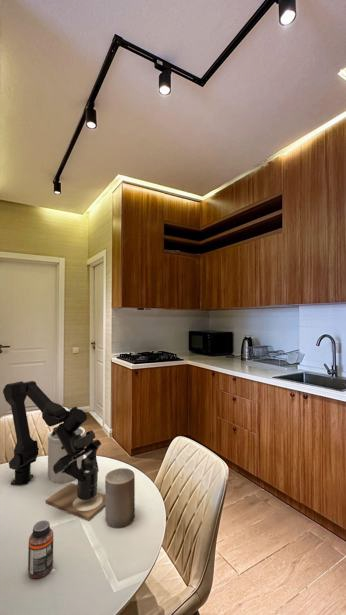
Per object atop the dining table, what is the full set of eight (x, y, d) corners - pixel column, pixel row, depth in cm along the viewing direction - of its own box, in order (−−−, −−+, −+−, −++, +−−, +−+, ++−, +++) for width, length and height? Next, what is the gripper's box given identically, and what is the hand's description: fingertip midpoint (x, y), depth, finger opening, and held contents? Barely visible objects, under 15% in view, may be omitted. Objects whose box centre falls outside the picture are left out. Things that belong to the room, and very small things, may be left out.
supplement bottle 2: (95, 500, 99) (96, 464, 100) (75, 501, 98) (76, 465, 99) (98, 488, 106) (99, 455, 106) (79, 489, 105) (80, 456, 106)
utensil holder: (89, 477, 120) (89, 434, 121) (50, 488, 112) (52, 442, 113) (78, 462, 132) (79, 423, 133) (43, 471, 124) (44, 430, 125)
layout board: (45, 503, 103) (45, 499, 103) (71, 486, 113) (71, 482, 114) (88, 521, 94) (88, 516, 94) (112, 500, 105) (112, 496, 105)
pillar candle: (139, 511, 99) (139, 466, 100) (127, 531, 89) (127, 481, 90) (113, 506, 101) (113, 462, 102) (99, 525, 92) (99, 476, 93)
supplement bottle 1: (33, 560, 78) (34, 517, 79) (55, 559, 79) (56, 516, 79) (23, 580, 72) (25, 533, 73) (48, 579, 73) (49, 532, 73)
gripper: (60, 434, 96) (84, 477, 91) (98, 417, 113) (120, 453, 108) (43, 453, 100) (65, 495, 94) (82, 434, 116) (103, 469, 111)
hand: (90, 476), depth 102 cm, fingers closed on supplement bottle 2, 7 cm apart
